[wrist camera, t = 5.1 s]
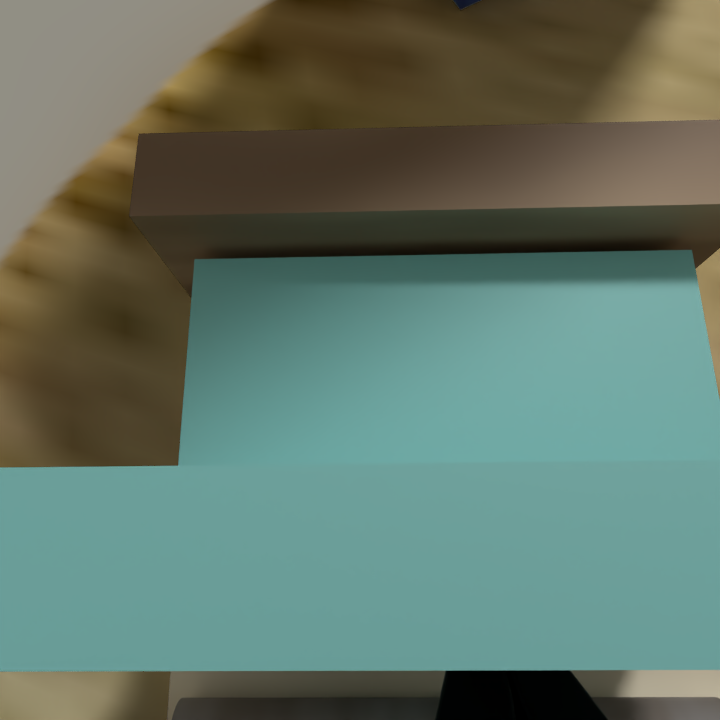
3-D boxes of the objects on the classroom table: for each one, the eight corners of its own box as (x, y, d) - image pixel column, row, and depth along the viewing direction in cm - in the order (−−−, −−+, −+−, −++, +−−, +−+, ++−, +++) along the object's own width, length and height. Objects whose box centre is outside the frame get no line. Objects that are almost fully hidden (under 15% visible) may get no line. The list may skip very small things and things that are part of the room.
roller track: (745, 967, 13) (1023, 1288, 8) (162, 962, 14) (5, 1266, 8) (632, 236, 19) (748, 99, 13) (212, 244, 19) (141, 114, 13)
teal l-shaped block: (699, 583, 13) (1377, 667, 4) (197, 586, 13) (-158, 672, 4) (651, 286, 15) (1042, -77, 6) (216, 294, 15) (-2, -46, 7)
